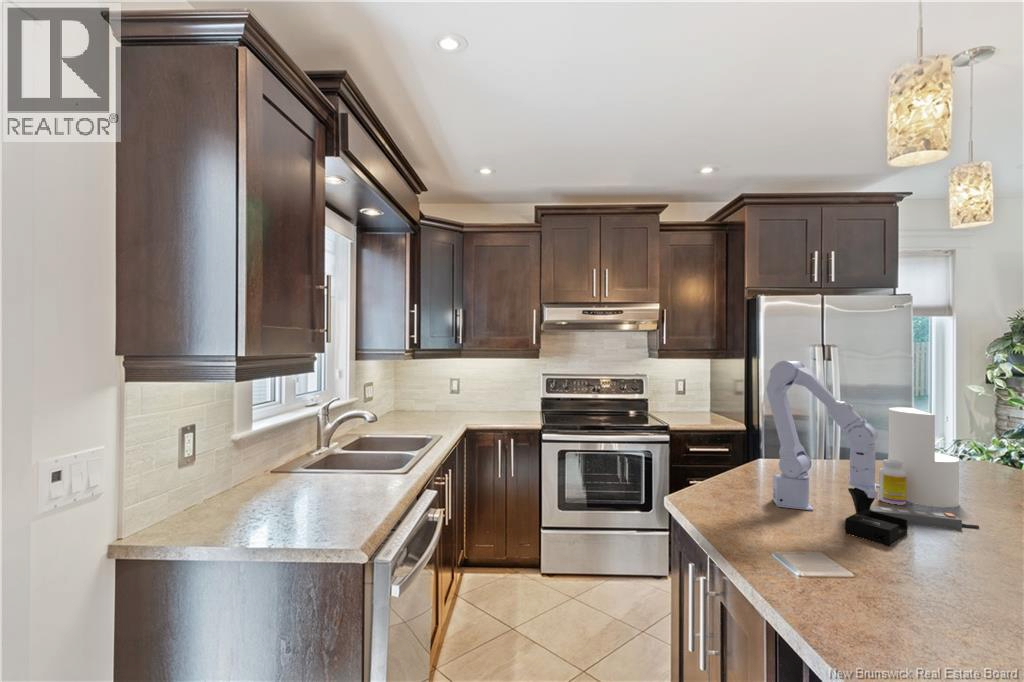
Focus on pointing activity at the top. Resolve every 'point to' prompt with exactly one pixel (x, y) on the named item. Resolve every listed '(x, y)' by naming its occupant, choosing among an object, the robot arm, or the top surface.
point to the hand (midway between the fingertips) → (861, 516)
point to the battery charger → (876, 527)
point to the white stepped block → (922, 459)
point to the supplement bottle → (892, 482)
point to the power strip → (924, 517)
